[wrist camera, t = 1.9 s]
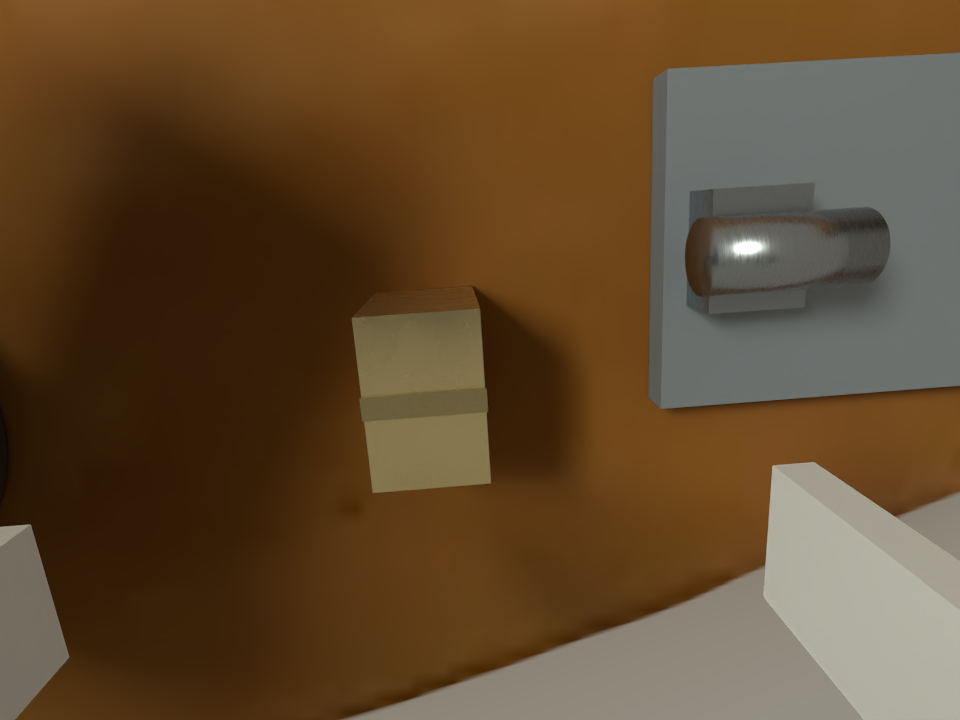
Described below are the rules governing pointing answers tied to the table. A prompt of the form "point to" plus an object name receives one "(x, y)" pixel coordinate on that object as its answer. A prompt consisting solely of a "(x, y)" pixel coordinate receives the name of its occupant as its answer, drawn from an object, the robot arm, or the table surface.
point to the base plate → (838, 184)
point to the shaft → (776, 247)
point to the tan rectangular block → (423, 388)
